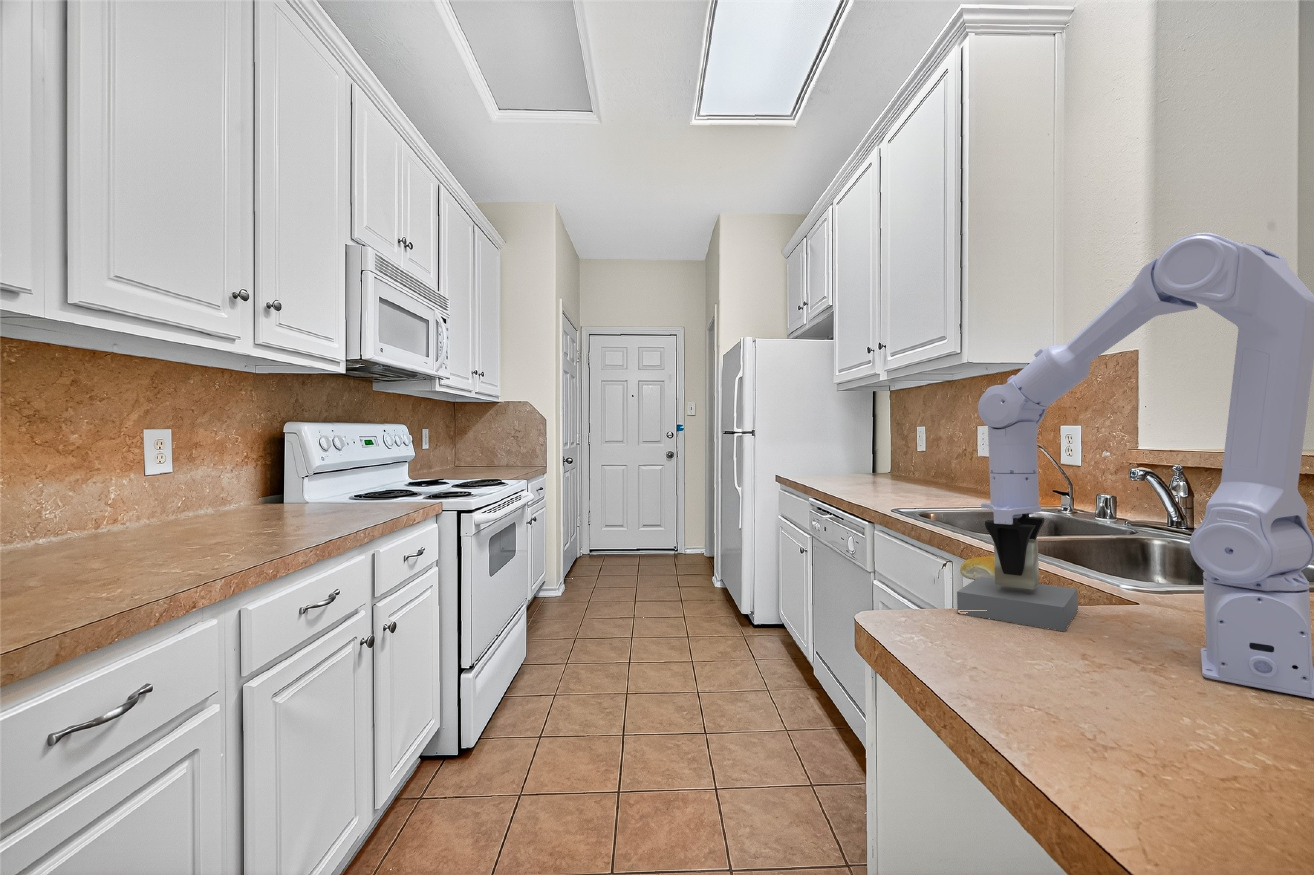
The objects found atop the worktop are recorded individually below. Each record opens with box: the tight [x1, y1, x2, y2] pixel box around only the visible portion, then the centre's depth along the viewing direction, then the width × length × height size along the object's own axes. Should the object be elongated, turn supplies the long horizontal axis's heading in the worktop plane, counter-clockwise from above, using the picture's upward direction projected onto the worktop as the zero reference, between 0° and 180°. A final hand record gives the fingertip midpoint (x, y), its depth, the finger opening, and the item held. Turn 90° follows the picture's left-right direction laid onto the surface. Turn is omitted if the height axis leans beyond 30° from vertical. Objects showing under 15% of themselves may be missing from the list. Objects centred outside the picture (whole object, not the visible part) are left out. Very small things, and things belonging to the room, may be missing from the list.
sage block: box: [993, 539, 1040, 589], centre depth 77 cm, size 4×4×6 cm
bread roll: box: [959, 555, 995, 581], centre depth 98 cm, size 8×9×4 cm
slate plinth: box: [956, 577, 1079, 632], centre depth 77 cm, size 12×12×3 cm
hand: (1016, 571), depth 77 cm, fingers closed on sage block, 4 cm apart
